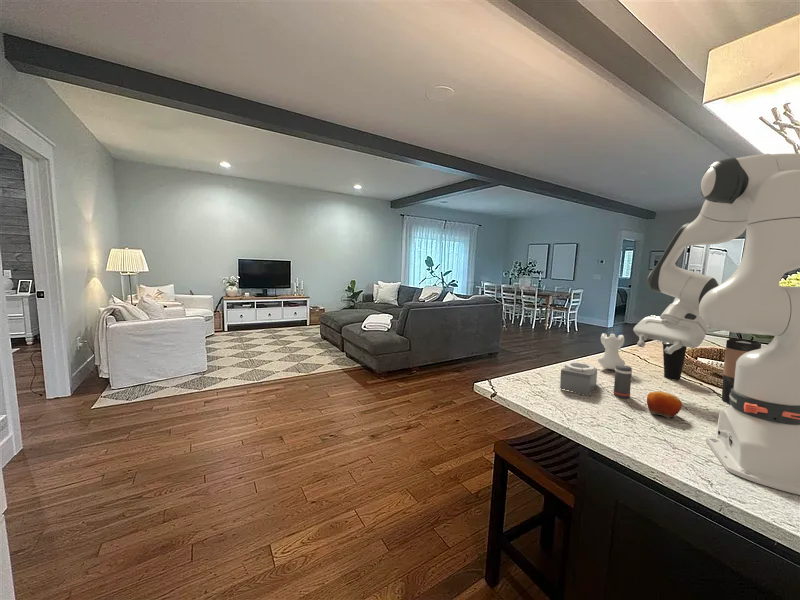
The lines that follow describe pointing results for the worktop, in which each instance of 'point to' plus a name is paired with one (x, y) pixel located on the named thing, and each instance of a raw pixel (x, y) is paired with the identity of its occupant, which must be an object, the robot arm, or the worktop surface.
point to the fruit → (663, 404)
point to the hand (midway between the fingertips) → (652, 349)
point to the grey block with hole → (578, 377)
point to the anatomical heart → (611, 351)
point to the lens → (622, 381)
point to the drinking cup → (673, 362)
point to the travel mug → (734, 362)
